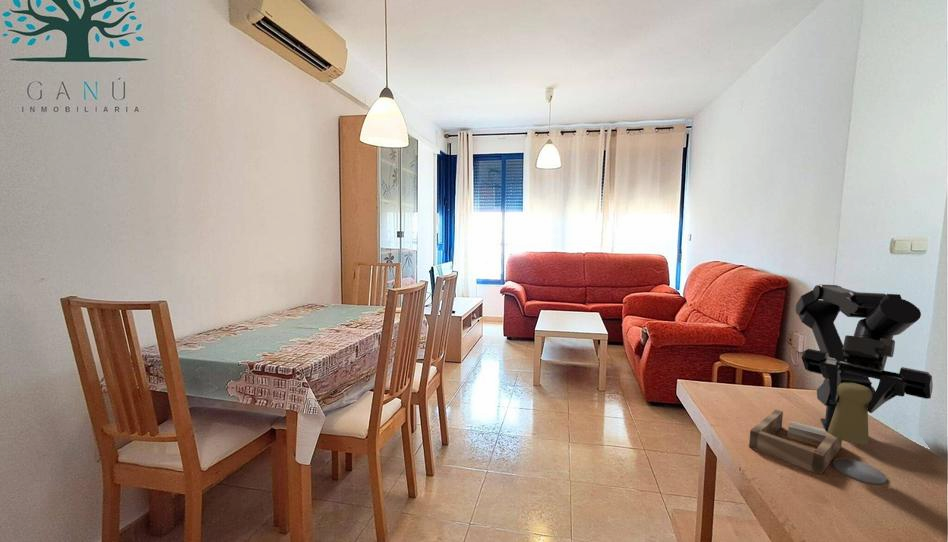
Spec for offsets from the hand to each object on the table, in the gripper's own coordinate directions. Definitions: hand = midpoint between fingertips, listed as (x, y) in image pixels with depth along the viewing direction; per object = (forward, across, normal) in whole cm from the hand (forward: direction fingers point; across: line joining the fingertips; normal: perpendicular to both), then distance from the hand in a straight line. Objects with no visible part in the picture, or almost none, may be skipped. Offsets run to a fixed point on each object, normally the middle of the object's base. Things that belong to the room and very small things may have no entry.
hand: (851, 406), depth 77 cm
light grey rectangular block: (+4, -8, +16) cm, 18 cm away
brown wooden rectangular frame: (+8, -9, +11) cm, 16 cm away
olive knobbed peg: (+4, 0, +6) cm, 7 cm away
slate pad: (+8, +2, +11) cm, 14 cm away
